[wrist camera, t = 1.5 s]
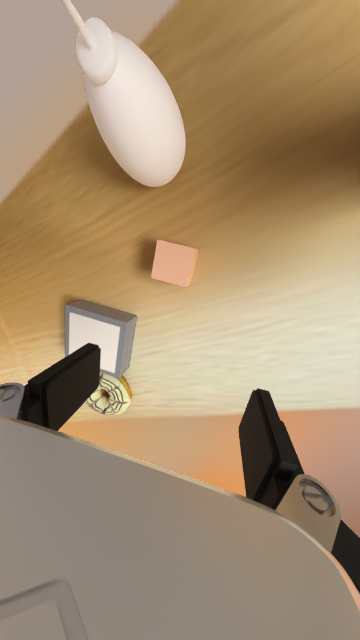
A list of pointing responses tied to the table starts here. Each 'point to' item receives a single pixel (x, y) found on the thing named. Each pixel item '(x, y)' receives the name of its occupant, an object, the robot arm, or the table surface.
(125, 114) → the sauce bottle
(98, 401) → the decorated donut
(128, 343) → the grey flat square block
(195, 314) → the table surface
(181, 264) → the terracotta cube
